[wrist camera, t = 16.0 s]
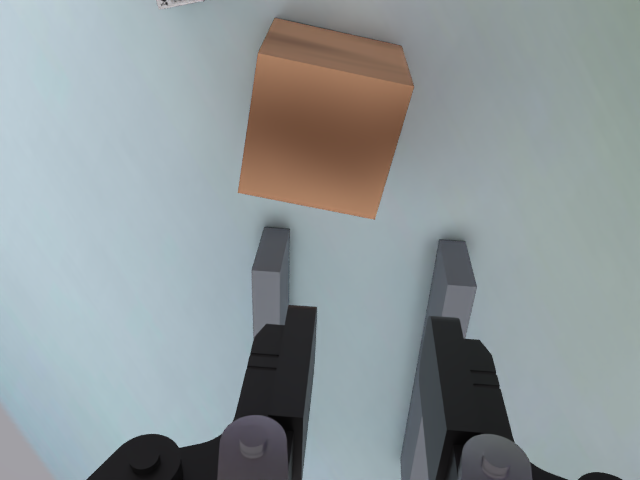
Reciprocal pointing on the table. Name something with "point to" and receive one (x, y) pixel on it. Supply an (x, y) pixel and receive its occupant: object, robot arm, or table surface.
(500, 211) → the table surface
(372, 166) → the terracotta block
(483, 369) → the robot arm
